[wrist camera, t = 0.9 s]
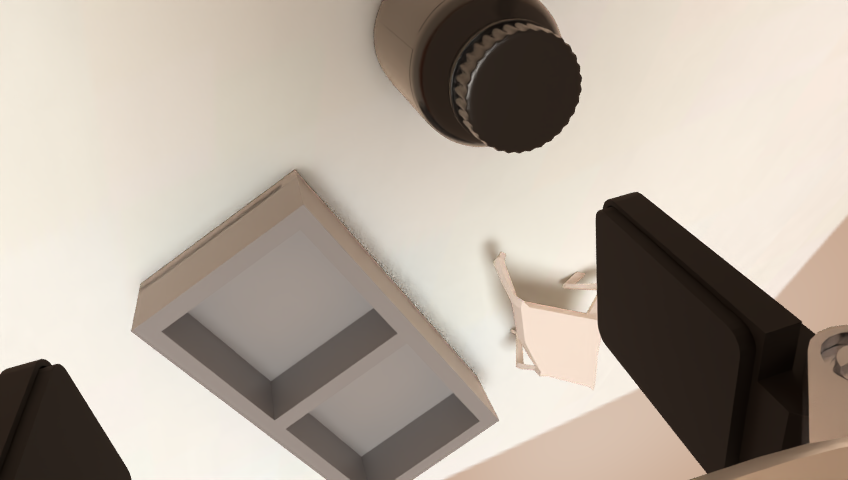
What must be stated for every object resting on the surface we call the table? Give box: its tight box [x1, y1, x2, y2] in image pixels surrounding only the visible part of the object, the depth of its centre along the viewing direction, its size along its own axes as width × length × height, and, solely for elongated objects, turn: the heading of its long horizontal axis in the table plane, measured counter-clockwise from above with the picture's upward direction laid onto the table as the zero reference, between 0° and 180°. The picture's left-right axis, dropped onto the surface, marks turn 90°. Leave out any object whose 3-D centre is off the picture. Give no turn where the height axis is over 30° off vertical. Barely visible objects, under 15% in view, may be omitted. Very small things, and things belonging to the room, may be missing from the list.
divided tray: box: [131, 170, 499, 480], centre depth 40 cm, size 11×21×4 cm, turn 33°
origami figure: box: [493, 252, 601, 390], centre depth 43 cm, size 12×8×5 cm
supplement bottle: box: [374, 0, 582, 153], centre depth 29 cm, size 7×7×12 cm
